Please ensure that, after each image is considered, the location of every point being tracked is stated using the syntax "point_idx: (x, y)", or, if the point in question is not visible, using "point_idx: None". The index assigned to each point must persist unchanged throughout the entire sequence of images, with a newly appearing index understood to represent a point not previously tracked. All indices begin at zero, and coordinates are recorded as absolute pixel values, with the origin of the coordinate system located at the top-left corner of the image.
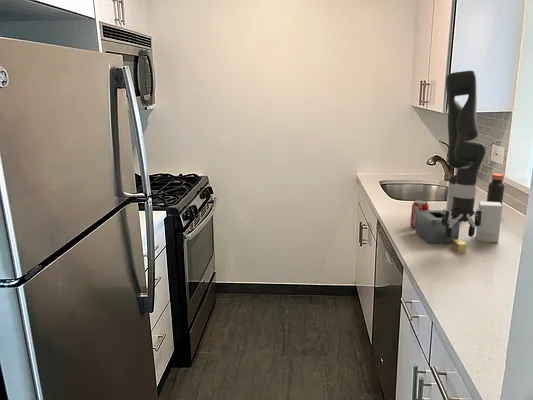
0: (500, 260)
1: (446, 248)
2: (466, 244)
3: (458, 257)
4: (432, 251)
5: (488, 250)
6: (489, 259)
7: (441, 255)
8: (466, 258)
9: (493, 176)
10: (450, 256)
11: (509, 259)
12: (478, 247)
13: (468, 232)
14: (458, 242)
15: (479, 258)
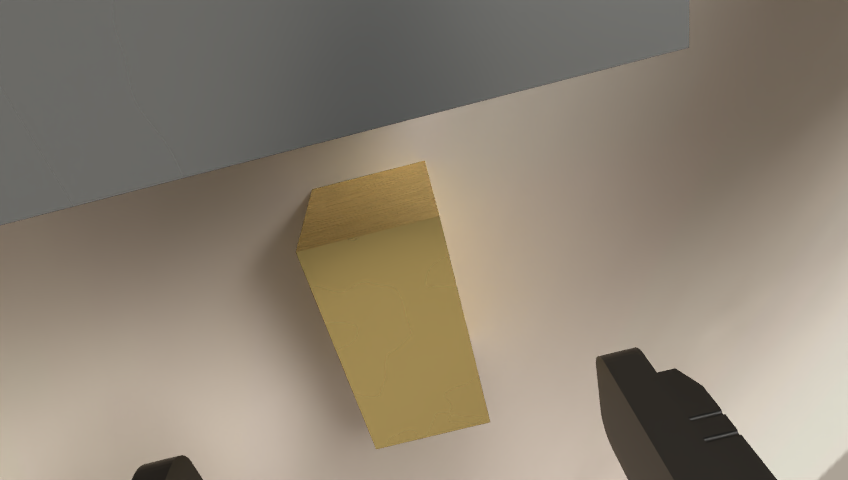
0: None
1: (241, 251)
2: (485, 420)
3: (354, 473)
4: (62, 386)
5: (791, 210)
6: None
7: None
8: (429, 477)
9: None
10: (274, 468)
11: (844, 414)
12: (719, 115)
13: (620, 392)
14: (382, 381)
15: (560, 451)
